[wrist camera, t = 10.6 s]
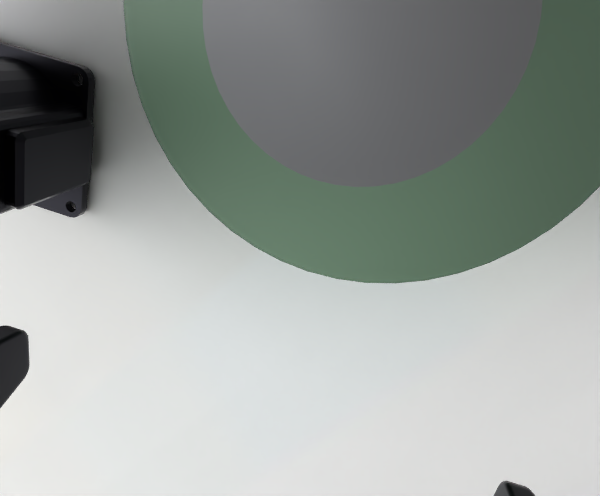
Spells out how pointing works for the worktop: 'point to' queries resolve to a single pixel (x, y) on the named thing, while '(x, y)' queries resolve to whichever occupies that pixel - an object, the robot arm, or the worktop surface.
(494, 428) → the worktop surface
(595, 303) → the worktop surface
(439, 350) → the worktop surface
